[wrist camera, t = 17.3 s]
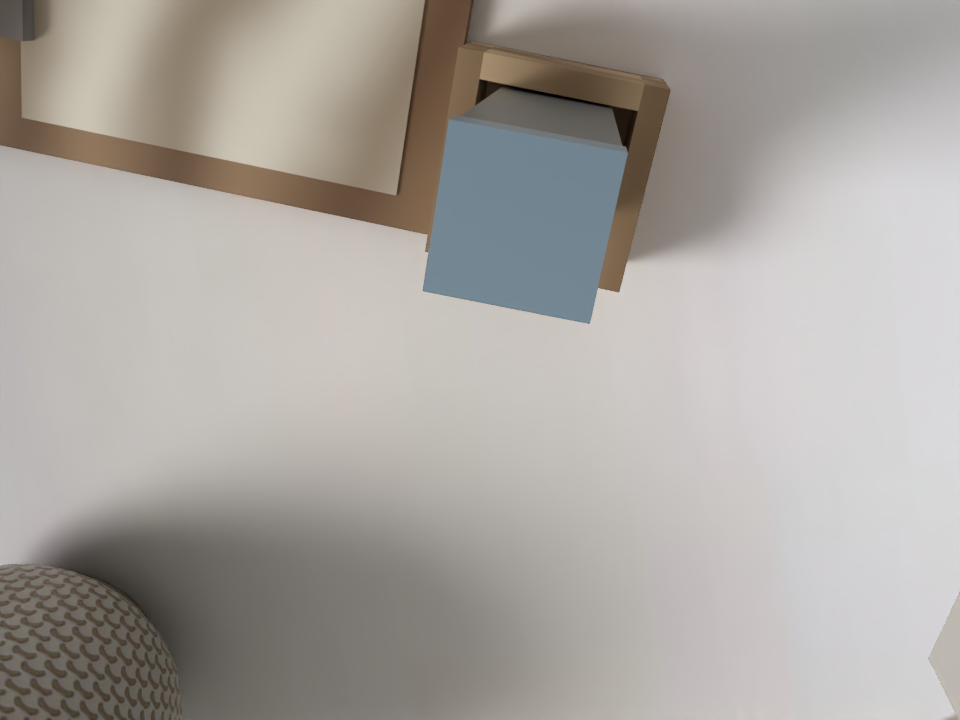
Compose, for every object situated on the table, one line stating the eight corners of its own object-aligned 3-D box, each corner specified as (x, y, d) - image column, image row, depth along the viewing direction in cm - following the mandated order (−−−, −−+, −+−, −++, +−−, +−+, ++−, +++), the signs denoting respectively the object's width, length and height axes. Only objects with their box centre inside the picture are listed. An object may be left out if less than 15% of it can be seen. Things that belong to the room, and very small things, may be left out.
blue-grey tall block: (489, 185, 33) (422, 290, 20) (507, 80, 31) (448, 119, 18) (589, 204, 32) (589, 323, 19) (611, 99, 31) (627, 153, 18)
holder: (440, 227, 34) (425, 251, 31) (472, 41, 31) (458, 47, 28) (616, 264, 34) (618, 292, 31) (663, 79, 31) (670, 89, 28)
